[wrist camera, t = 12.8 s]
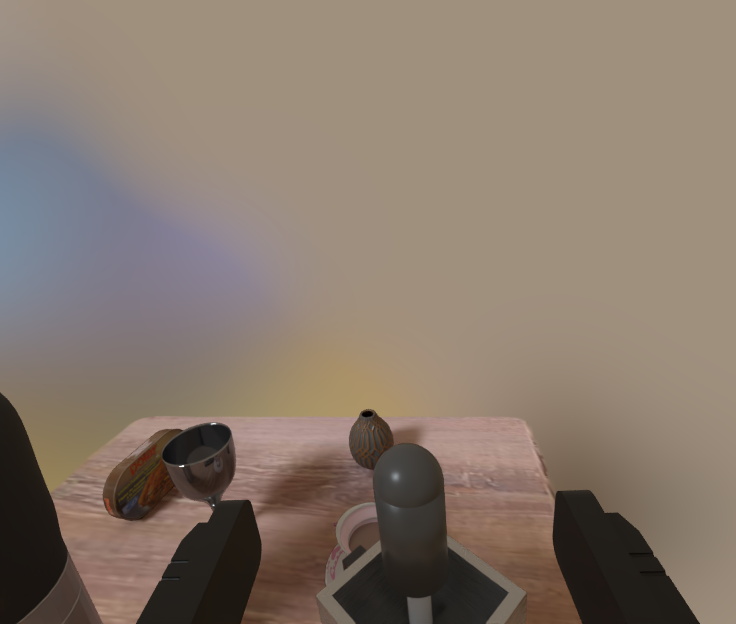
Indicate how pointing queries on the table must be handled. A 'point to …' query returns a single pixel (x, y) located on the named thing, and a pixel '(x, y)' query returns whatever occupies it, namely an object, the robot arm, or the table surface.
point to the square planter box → (449, 605)
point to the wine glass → (201, 462)
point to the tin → (139, 479)
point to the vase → (369, 438)
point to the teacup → (352, 536)
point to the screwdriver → (412, 525)
